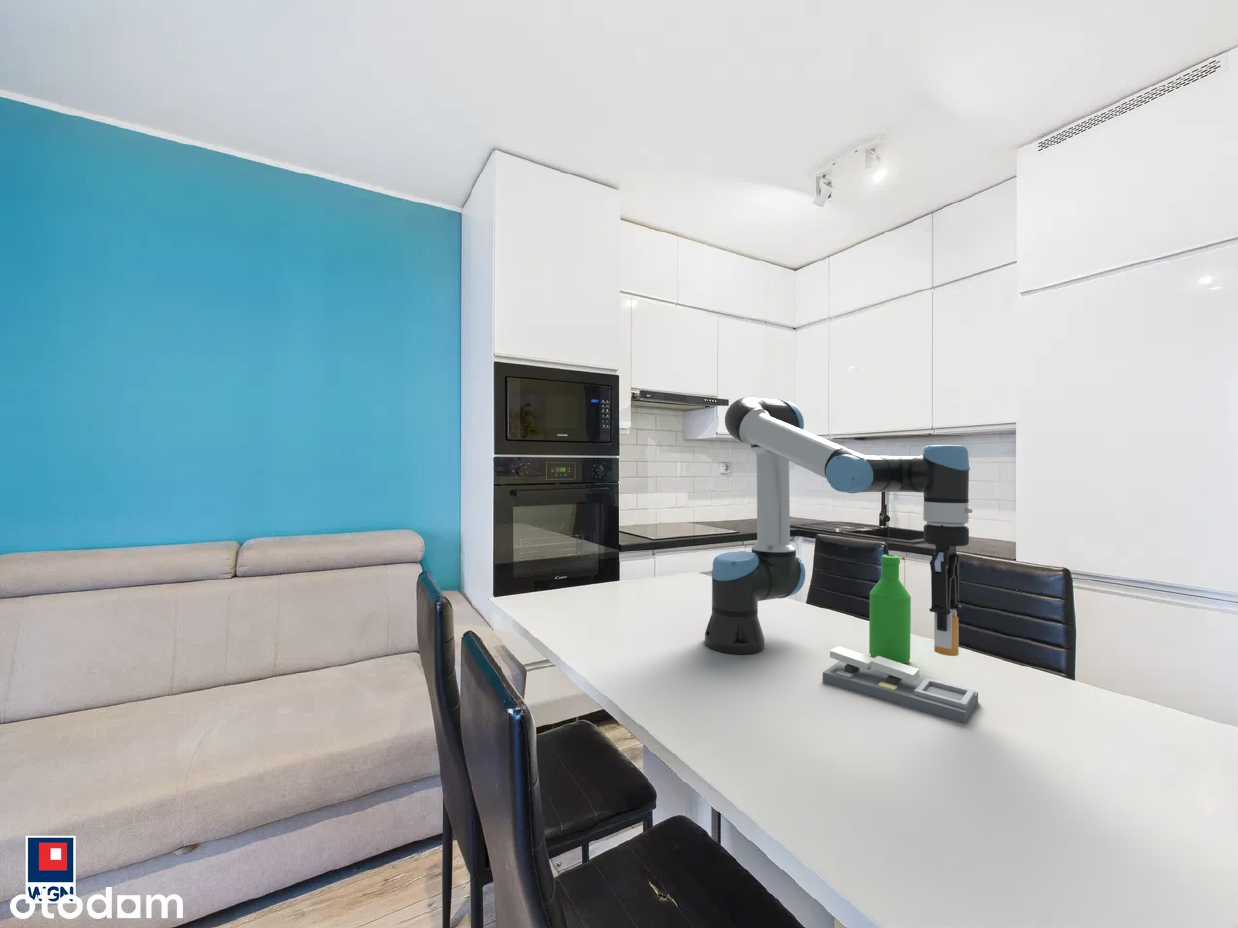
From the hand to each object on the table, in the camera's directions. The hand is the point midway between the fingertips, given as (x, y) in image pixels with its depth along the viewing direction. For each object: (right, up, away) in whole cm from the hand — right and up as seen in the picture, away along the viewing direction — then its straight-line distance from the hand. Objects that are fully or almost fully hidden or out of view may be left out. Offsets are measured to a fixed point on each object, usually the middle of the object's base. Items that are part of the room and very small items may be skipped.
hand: (945, 643), depth 102 cm
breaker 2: (-7, -7, +6) cm, 12 cm away
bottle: (+2, -12, +24) cm, 27 cm away
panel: (-6, -12, +6) cm, 15 cm away
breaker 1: (-13, -7, +12) cm, 19 cm away
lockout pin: (0, -2, 0) cm, 2 cm away
